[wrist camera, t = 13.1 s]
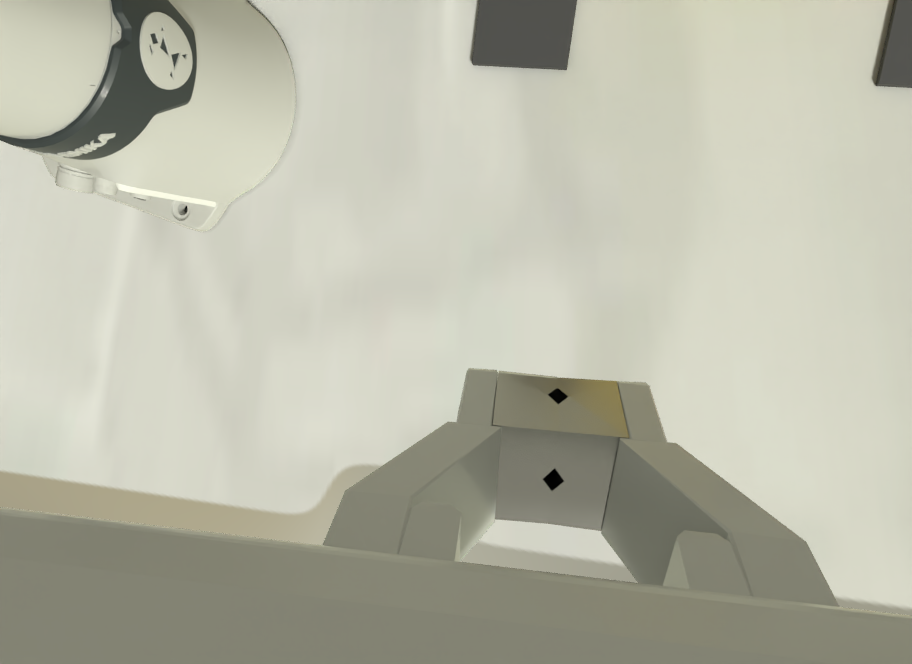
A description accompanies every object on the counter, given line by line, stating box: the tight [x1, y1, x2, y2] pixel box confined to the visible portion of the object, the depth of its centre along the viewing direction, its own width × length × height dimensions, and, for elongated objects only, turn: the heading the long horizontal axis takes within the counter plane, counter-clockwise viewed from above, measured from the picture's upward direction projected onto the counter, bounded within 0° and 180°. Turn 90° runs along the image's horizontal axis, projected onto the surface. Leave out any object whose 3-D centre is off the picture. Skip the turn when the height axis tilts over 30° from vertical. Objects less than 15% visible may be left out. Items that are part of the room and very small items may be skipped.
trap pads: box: [472, 0, 912, 88], centre depth 33 cm, size 29×7×1 cm, turn 83°
